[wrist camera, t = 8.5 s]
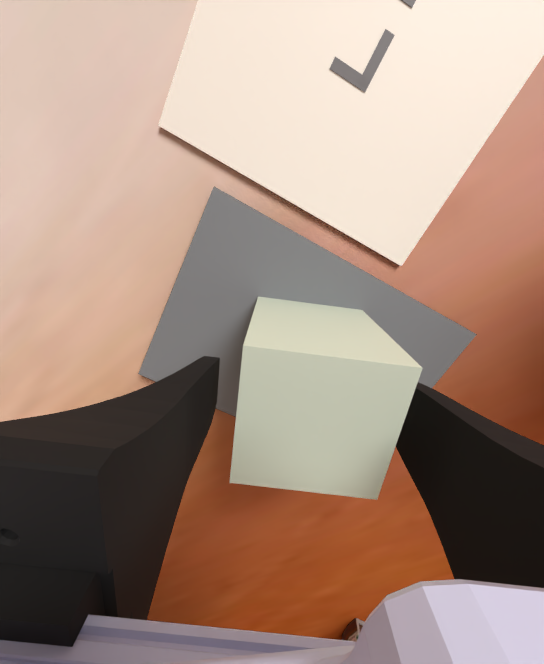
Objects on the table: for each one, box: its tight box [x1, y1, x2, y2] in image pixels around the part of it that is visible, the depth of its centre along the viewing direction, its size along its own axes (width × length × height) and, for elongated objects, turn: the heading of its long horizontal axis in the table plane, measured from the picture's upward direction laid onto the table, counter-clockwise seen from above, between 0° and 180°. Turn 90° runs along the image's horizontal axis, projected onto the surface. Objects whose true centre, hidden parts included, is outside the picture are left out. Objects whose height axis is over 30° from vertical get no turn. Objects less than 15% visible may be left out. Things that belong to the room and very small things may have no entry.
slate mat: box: [138, 187, 477, 417], centre depth 15 cm, size 14×10×1 cm
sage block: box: [230, 297, 423, 500], centre depth 11 cm, size 5×5×6 cm
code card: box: [158, 0, 544, 266], centre depth 10 cm, size 12×14×1 cm
